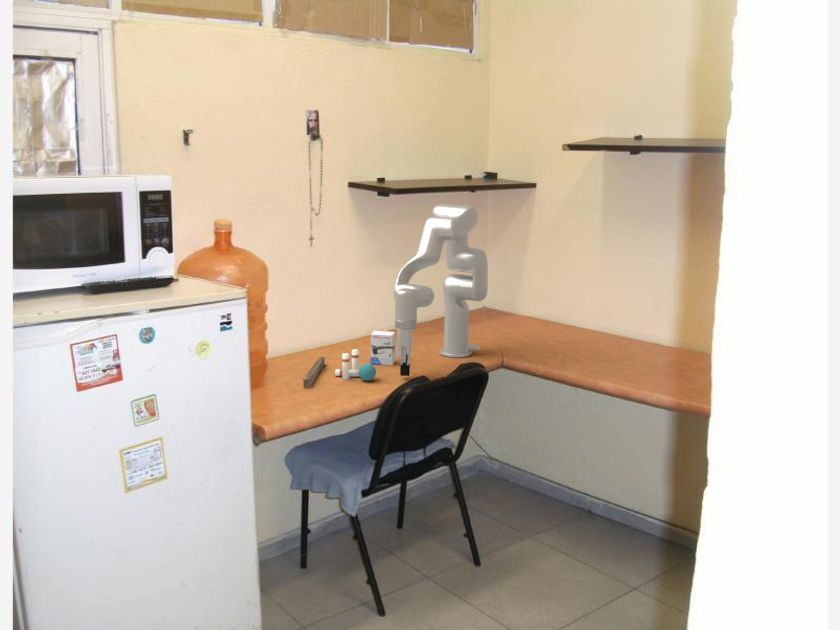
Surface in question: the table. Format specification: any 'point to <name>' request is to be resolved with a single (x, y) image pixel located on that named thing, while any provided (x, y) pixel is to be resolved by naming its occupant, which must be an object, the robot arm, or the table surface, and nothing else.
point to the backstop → (313, 372)
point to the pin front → (351, 373)
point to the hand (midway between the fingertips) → (404, 375)
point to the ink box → (382, 348)
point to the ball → (367, 372)
